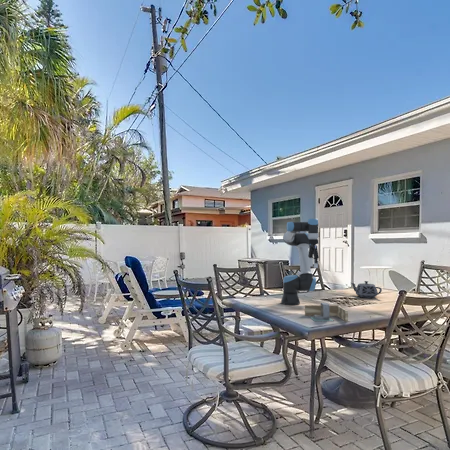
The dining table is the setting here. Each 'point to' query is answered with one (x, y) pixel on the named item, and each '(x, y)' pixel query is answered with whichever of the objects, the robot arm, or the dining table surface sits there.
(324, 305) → the angle block
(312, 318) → the mat
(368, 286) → the teapot
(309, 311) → the wooden corner frame
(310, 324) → the dining table surface
